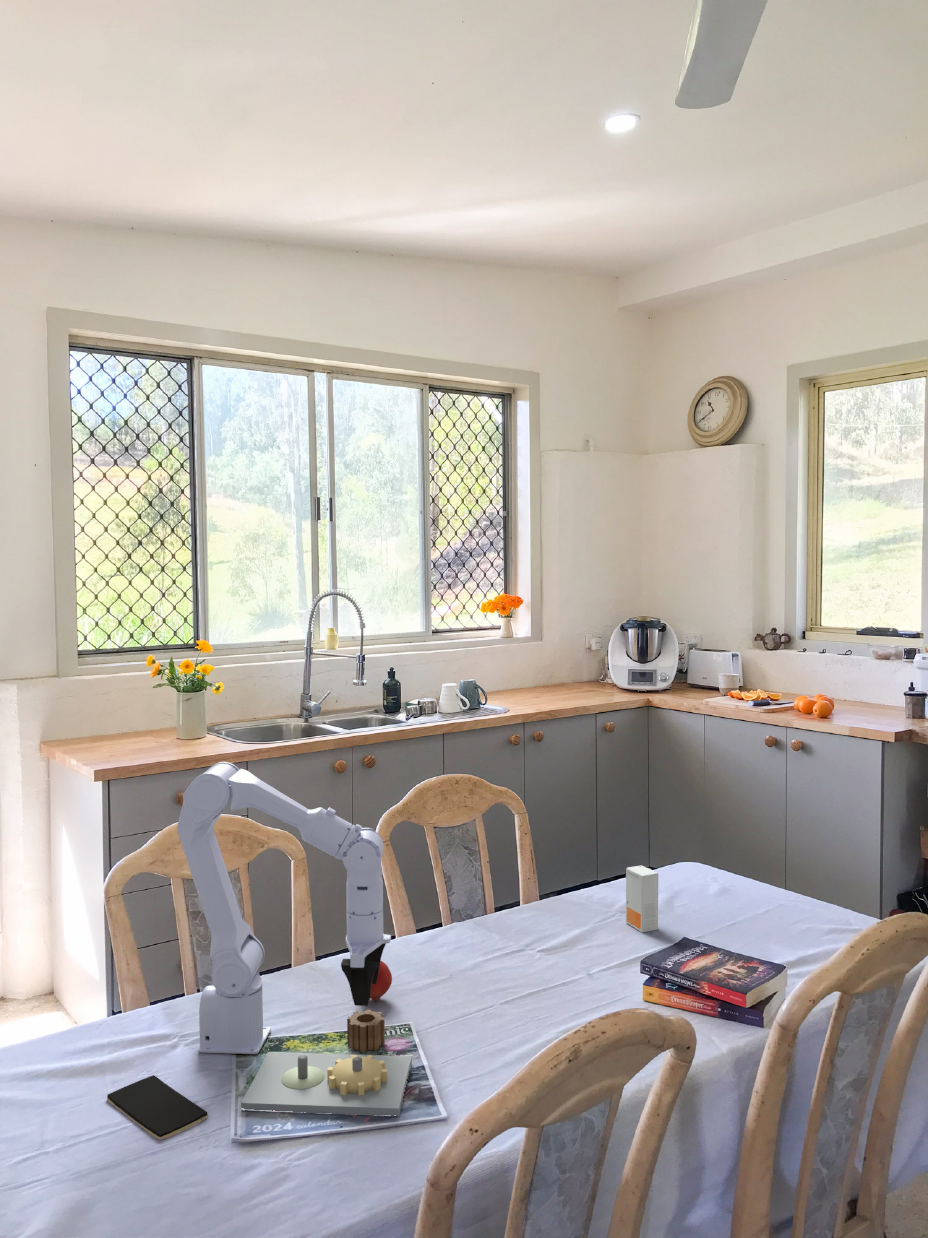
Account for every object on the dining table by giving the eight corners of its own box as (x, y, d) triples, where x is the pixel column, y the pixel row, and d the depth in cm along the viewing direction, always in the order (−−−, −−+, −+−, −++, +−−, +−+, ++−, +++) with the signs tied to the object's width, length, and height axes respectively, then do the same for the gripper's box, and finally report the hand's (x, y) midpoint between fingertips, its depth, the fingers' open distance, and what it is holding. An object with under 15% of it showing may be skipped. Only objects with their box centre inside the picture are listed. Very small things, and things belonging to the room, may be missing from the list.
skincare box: (624, 923, 202) (625, 867, 202) (641, 920, 204) (642, 864, 204) (641, 933, 197) (642, 876, 196) (658, 930, 199) (659, 873, 198)
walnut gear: (344, 1051, 150) (344, 1026, 149) (351, 1033, 155) (351, 1009, 155) (381, 1052, 149) (381, 1027, 149) (387, 1034, 155) (386, 1010, 155)
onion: (351, 1003, 166) (351, 958, 166) (370, 990, 171) (369, 946, 171) (380, 1010, 163) (379, 964, 163) (398, 997, 168) (397, 952, 168)
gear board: (241, 1111, 133) (240, 1082, 133) (268, 1059, 147) (268, 1032, 147) (398, 1117, 132) (398, 1087, 132) (411, 1064, 146) (411, 1037, 146)
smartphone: (153, 1074, 142) (209, 1112, 132) (153, 1081, 142) (209, 1120, 132) (105, 1094, 137) (160, 1136, 126) (105, 1102, 137) (160, 1144, 126)
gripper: (382, 927, 144) (383, 1016, 144) (396, 893, 158) (397, 974, 159) (336, 926, 144) (337, 1014, 145) (354, 893, 159) (355, 973, 159)
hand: (365, 993), depth 152 cm, fingers open, 7 cm apart
